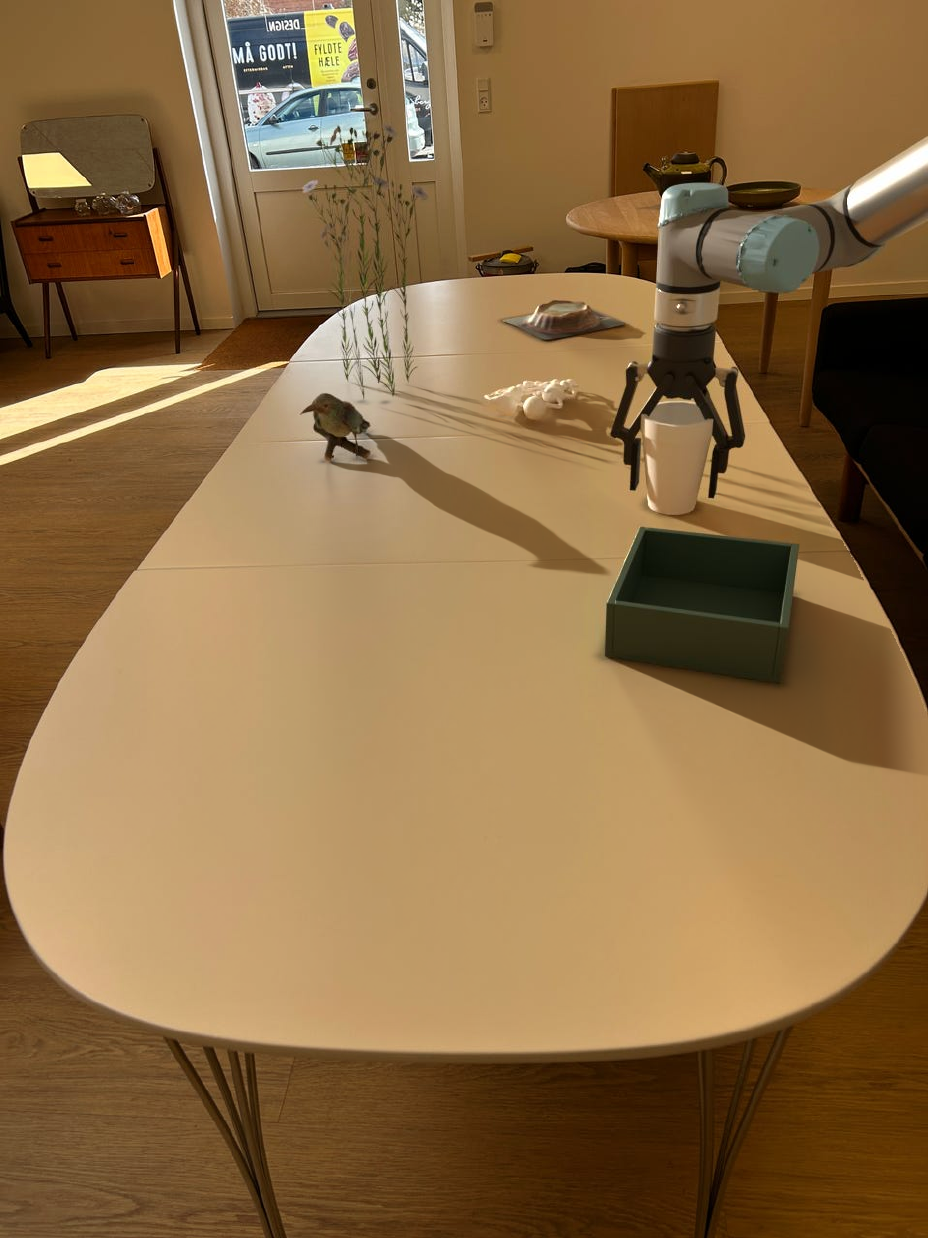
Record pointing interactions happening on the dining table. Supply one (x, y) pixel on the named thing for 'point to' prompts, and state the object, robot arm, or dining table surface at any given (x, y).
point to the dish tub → (703, 603)
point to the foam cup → (674, 455)
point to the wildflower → (380, 184)
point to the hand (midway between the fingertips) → (672, 490)
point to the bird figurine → (338, 424)
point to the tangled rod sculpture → (532, 405)
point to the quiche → (563, 320)
